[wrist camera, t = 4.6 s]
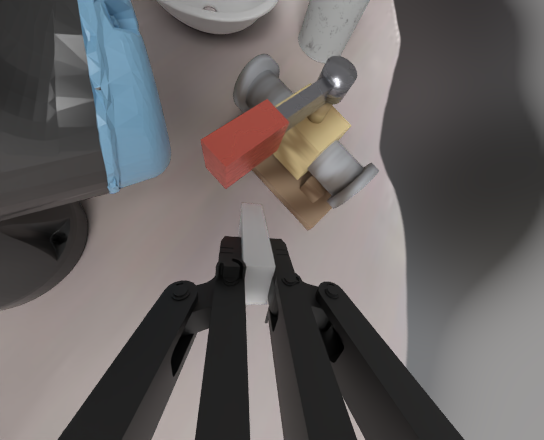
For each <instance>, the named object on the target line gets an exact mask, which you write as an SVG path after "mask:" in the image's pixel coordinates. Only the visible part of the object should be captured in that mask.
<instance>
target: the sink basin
mask: <svg viewBox="0 0 544 440" xmlns="http://www.w3.org/2000/svg"><path fill="white" fill-rule="evenodd" d="M156 1H157V2H158V3H159V4H160V5H161V6H162V7H163V8H164V9H165V10H166V11H168V12H169V13H170V14H171V15H172V16H174V17H175V18H176V19H178V20H179V21H181V22H183V23H184V24H186V25H188V26H190V27H192V28H194V29H197V30H200V31H203V32H207V33H212V34H230V33H235V32H238V31H241V30H243V29H245V28H247V27H249V26H250V25H252V24H253V23H254V22H255V21H256V20H257V19H258V18H259V17H262V16H264V15H265V14H267V13H268V12H270V11H271V10H272V9H273V8H274V7H275V5H276V4H277V2H278V0H156ZM204 7H212V8H214V9H215V10H216V11H217V12H215V11H209V10H204V9H203V8H204Z"/></svg>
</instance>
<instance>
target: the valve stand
mask: <svg viewBox="0 0 544 440" xmlns="http://www.w3.org/2000/svg"><path fill="white" fill-rule="evenodd" d="M310 85H312V84H311V83H310V84H309V85H307V86H305V87H304V88H302V89H301V90H299V91H298V92H296V93H295V94H293V93H292V92H291V91H290V90H289V89H288V88H287V87H286V86H285V84H284V83H283V82H282V81H281V80H280V79H279V66H278V64H277V63H276V62H275V61H274V60H273V59H272V58H271V57H270V56H269V55H268V54H261V55H258V56H256V57H255V58H253V59H252V60H251V61H250V62H249V63H248V64H247V65H246V66H245V67H244V69H243V70H242V72H241V73H240V75H239V77H238V79H237V81H236V84H235V87H234V92H233V99H234V102H235V104H236V105H237V106H238V107H239V108H240V109H241V110H242V111H243V112H244V113H245V112H247V111H248V110H250V109H252V108H253V107H255V106H256V105H258V104H260V103H261V102H263V101H265V100H266V99H268V100H269V101H270V102H271V103H272V104H273V105H274V106H275V107H278V106H279V105H281V104H282V103H284V102H286V101H287V100H289V99H290V98H292V97H293V96H295V95H296V94H298V93H299V92H301V91H303V90H304V89H306V88H307V87H309V86H310ZM332 105H333V104H329V103H326V104H324V105H323V106H322V107H320V108H319V109H317V110H316V111H315V112H313V113H312V114H310V115H309V116H308V117H306V118H305V119H304V120H302V121H301V122H299V123H298V124H297V125H295V126H294V127H292V128H291V129H290V130H288V131H287V132H286V133H285V134H284V136H283V139H282V141H281V143H280V146H279V148H278V150H277V151H276V152H275V153H273V154H272V155H271V156H269V157H268V158H267V159H265V160H264V161H263V162H261V163H260V164H259V165H257V166H256V167H255V168H253V169H252V171H253V172H254V173H255V174H256V175H257V176H258V177H259V178H260V179H261V180H262V182H263V183H264V184H265V185H266V186H267V187H268V188H269V189H270V190H271V191H272V192H273V193H274V195H275V196H276V197H277V198H278V199H279V200H280V201H281V202H282V203H283V204H284V205H285V206H286V207H287V209H288V210H289V211H290V212H291V213H292V214H293V215H294V216H295V217H296V218H297V219H298V220H299V222H300V223H301V224H302V225H303V226H304V227H305V228H306V229H307V230H309V229H311V228H313V227H314V226H315V225H316V224H317V222H318V221H319V220H320V219H321V218H322V217H323V216H324V215H325V214H326V213H327V212H328V211H329V210H330V209H331V208H336V207H338V206H340V205H341V204H343V203H344V202H346V201H347V200H349V199H350V198H351V197H353V196H354V195H355V194H356V193H358V192H359V191H360V190H361V189H362V188H363V187H365V186H366V185H367V184H368V183H369V182H370V181H371V180H372V179H373V178H374V177H375V176H376V175H377V173H378V172H379V170H378V169H377V168H376V167H375V166H374V165H373V164H372V163H370V164H368V165H367V166H365V167H364V168H363V167H362V166H361V165H360V164H359V162H358V161H357V160H356V159H355V158H354V157H353V156H352V155H351V154H350V153H349V152H348V151H347V150H346V149H345V148H344V147H343V146H342V145H341V144H340V142H339V141H338V140H339V139H340V138H341V137H342V136H343V135H344V134H345V132H346V131H347V130H348V129H349V128H350V127H351V125H350V124H349V123H348V122H347V121H346V120H345V119H344V117H343V116H342V115H341V114H340V113H339V112H338V111H337V110H336V109H335V108H334V107H333V106H332Z"/></svg>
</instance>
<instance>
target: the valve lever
mask: <svg viewBox="0 0 544 440" xmlns="http://www.w3.org/2000/svg"><path fill="white" fill-rule="evenodd" d="M356 78H357V71H356V69H355V67H354V65H353V64H352V63H351V62H350V61H349V60H347V59H346V58H344V57H341V56H332V57H330V58H328V59H327V61H326V63H325V65H324V67H323V70H322V72H321V74H320V76H319V78H318V80H317V81H316V82H315V83H313V84H312V85H310V86H309V87H307V88H306V89H304V90H303V91H301V92H299V93H298V94H296V95H295V96H293V97H292V98H290V99H289V100H287V101H286V102H284V103H282V104H281V105H279V106H278V107H275V106H274V105H273V104H272V103H271V102H270V101H269V100H268V99H266V100H265V101H263V102H261V103H260V104H258V105H256V106H255V107H253V108H252V109H250V110H248V111H247V112H245V113H243V114H242V115H240V116H238V117H237V118H235V119H234V120H232V121H230V122H229V123H227V124H225V125H224V126H222V127H221V128H219V129H217V130H216V131H214V132H212V133H211V134H209V135H208V136H206V137H204V138H203V139H201V145H202V150H203V155H204V160H205V165H206V168H207V169H208V170H209V171H210V172H211V174H212V175H213V176H214V177H215V178H216V179H217V180H218V181H219V182H220V183H221V184H222V186H223V187H224V188H225V189H227V188H228V187H229V186H231V185H232V184H233V183H235V182H236V181H237V180H239V179H240V178H241V177H243V176H244V175H245V174H247V173H248V172H249V171H251V170H252V169H253V168H255V167H256V166H257V165H259V164H260V163H261V162H263V161H264V160H265V159H267V158H268V157H269V156H271V155H272V154H273V153H275V152H276V151H277V150H278V148H279V146H280V143H281V141H282V139H283V136H284V134H285V133H286V132H287V131H288V130H290V129H291V128H292V127H294V126H295V125H297V124H298V123H299V122H301V121H302V120H304V119H305V118H306V117H308V116H309V115H310V114H312V113H313V112H315V111H316V110H317V109H319V108H320V107H322V106H323V105H324V104H326V103H329V104H337V103H339V102H341V100H342V99H343V98H344V96H345V95H346V93H347V92H348V90H349V89H350V87H351V86H352V84H353V83H354V81H355V80H356Z"/></svg>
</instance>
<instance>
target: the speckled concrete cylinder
mask: <svg viewBox="0 0 544 440" xmlns="http://www.w3.org/2000/svg"><path fill="white" fill-rule="evenodd" d="M369 1H370V0H310V2H309V5H308V9H307V12H306V15H305V18H304V21H303V25H302V28H301V31H300V33H299V37H298V40H299V45H300V47H301V49H302V50H303V52H304V53H305V54H306V55H307V56H309V57H310V58H311V59H313V60H315V61H317V62H320V63H324V64H325V63H326V61H327V59H328V58H330V57H332V56H341V53H342V51H343V50H344V48H345V46H346V44H347V42H348V40H349V38H350V36H351V35H352V33H353V31H354V29H355V27H356V25H357V23H358V21H359V20H360V18H361V16H362V14H363V12H364V10H365V8H366V6H367V5H368V3H369Z"/></svg>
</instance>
